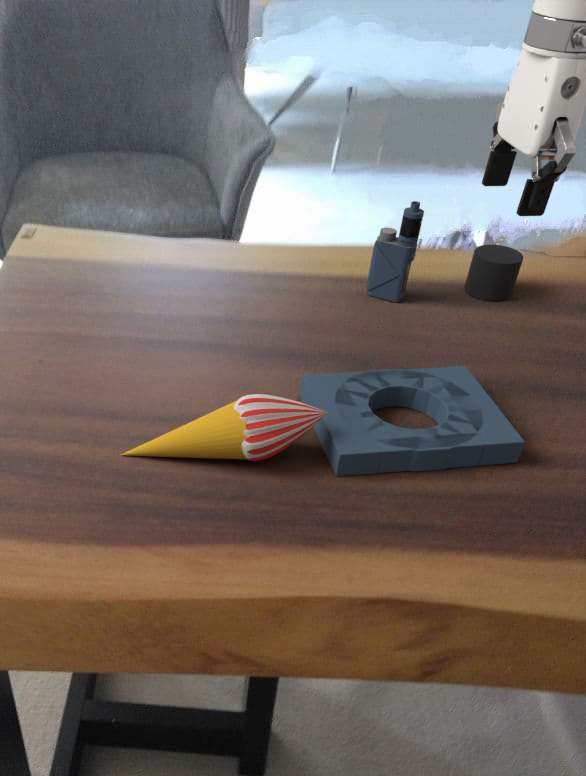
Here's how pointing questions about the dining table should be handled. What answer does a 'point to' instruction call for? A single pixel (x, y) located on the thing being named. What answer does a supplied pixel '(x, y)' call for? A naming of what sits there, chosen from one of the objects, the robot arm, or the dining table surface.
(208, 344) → the dining table surface
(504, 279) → the dark grey cylinder
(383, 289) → the vaping device
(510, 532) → the dining table surface
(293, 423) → the ice cream cone
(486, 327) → the dining table surface
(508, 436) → the base pad
